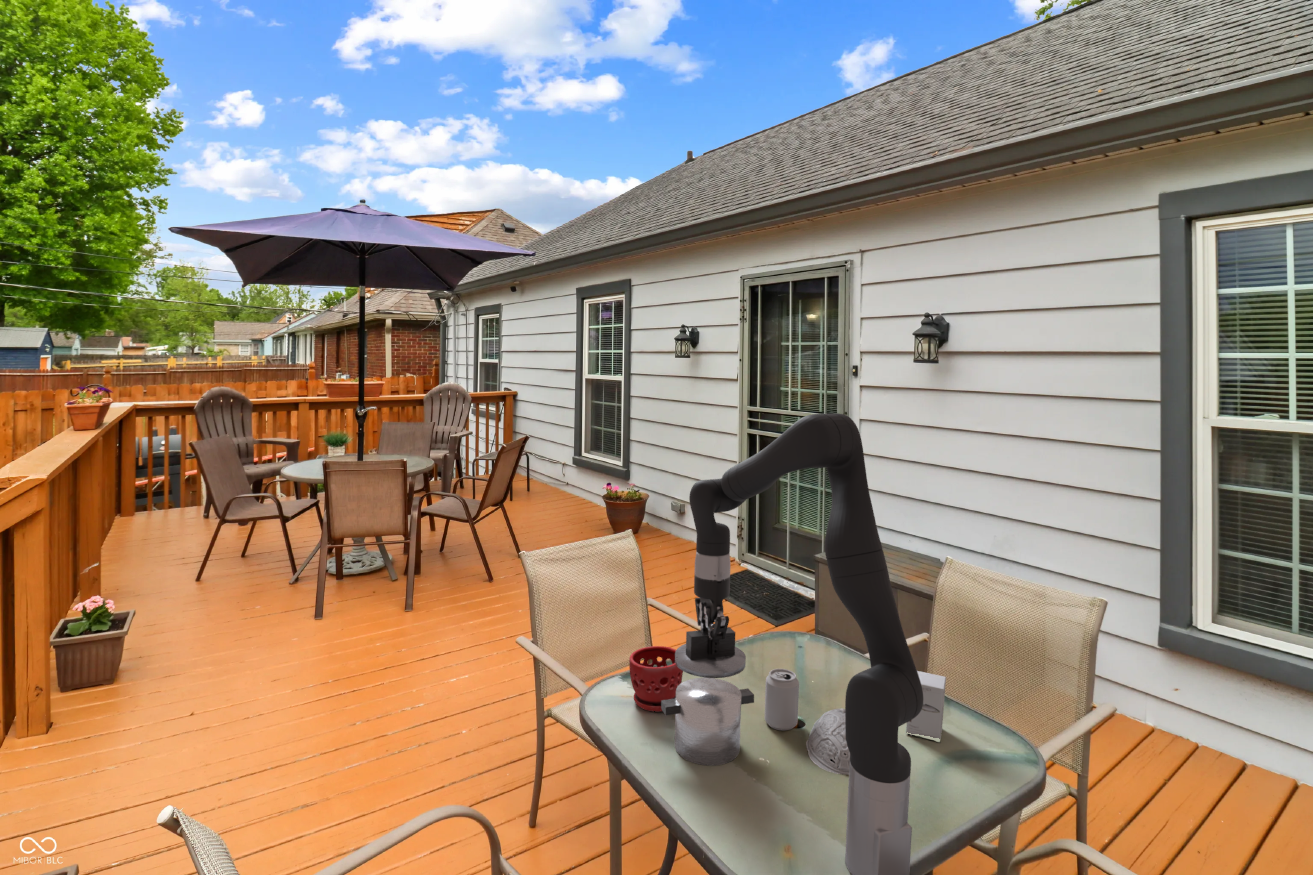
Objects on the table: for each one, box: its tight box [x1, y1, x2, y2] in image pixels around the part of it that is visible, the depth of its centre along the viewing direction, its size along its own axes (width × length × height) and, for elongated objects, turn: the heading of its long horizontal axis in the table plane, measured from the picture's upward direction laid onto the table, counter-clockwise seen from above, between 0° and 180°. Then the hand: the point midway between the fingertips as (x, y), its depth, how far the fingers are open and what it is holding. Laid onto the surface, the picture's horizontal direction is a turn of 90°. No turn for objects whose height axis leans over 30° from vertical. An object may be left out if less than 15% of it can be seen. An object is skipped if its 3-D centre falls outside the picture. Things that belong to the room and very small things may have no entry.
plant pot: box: [628, 645, 684, 713], centre depth 156 cm, size 13×13×12 cm
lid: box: [675, 626, 747, 679], centre depth 136 cm, size 15×15×7 cm
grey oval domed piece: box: [805, 707, 850, 776], centre depth 140 cm, size 16×25×7 cm, turn 163°
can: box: [764, 668, 800, 731], centre depth 147 cm, size 8×8×12 cm
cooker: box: [661, 677, 755, 766], centre depth 137 cm, size 14×20×12 cm
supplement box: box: [905, 670, 947, 740], centre depth 145 cm, size 7×7×13 cm
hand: (710, 651), depth 136 cm, fingers closed on lid, 3 cm apart
